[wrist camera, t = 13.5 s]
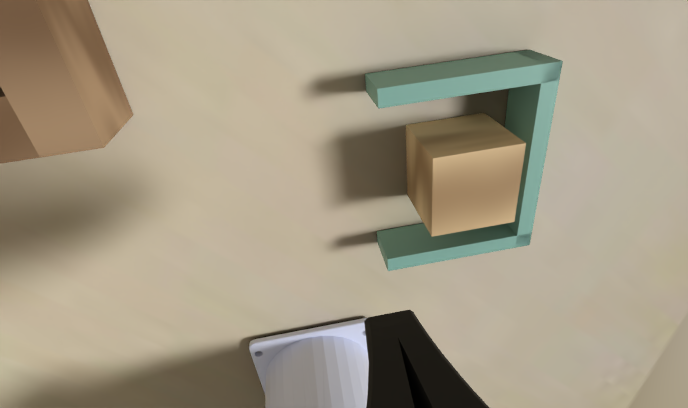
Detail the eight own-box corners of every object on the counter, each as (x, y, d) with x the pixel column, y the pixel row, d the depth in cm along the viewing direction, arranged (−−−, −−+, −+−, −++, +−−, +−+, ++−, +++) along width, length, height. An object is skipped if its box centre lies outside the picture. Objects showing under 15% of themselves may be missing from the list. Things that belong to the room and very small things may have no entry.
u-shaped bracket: (506, 219, 24) (529, 245, 22) (377, 242, 23) (388, 271, 21) (529, 49, 19) (562, 61, 16) (364, 73, 18) (377, 89, 16)
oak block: (477, 181, 22) (514, 221, 19) (407, 193, 22) (431, 236, 18) (483, 112, 20) (526, 143, 17) (405, 124, 20) (433, 158, 16)
